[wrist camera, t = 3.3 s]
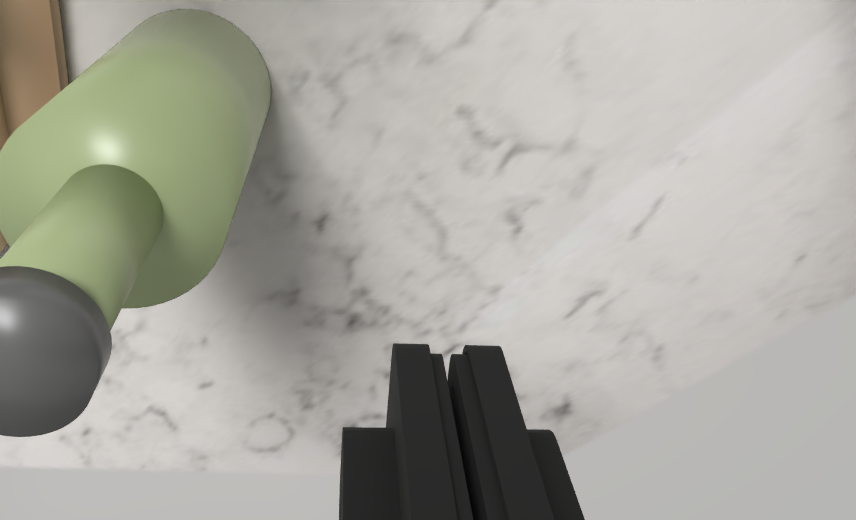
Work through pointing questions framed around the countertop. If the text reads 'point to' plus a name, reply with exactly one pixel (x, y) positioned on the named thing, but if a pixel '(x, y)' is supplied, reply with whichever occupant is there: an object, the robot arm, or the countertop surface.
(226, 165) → the bottle
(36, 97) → the rest
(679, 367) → the countertop surface
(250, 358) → the countertop surface
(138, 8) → the countertop surface
